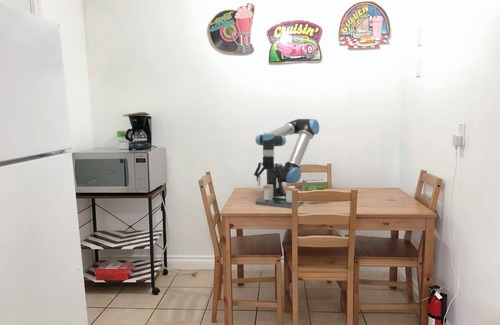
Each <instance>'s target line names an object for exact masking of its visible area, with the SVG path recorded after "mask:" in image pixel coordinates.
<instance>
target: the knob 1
mask: <svg viewBox="0 0 500 325" xmlns="http://www.w3.org/2000/svg"><path fill="white" fill-rule="evenodd" d="M262 188H263V197H264V199H265V200H266V201H271V200H272V198H273V197H274V196H273V185H272V184H268V185H267V184H265V185H263V187H262Z"/></svg>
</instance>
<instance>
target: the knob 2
mask: <svg viewBox="0 0 500 325" xmlns="http://www.w3.org/2000/svg"><path fill="white" fill-rule="evenodd" d="M294 189H295V190H296V186H294V185H289V186H286V187H285V197H286V202H288V203H292V190H294Z"/></svg>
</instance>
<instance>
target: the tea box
mask: <svg viewBox="0 0 500 325" xmlns="http://www.w3.org/2000/svg"><path fill="white" fill-rule="evenodd" d="M301 186H302V187H301V192H302V191H312V190H324V189H328V190H329V181H327V180H324V179H321V178H320V179H319V178H318V179H303V180H302V185H301ZM305 203H306V204H319V203H323V202H305Z"/></svg>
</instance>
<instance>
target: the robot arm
mask: <svg viewBox="0 0 500 325" xmlns="http://www.w3.org/2000/svg"><path fill="white" fill-rule="evenodd" d="M319 132H320V124H319V120H317V119H315V118H297V119H294V120H292V121H289V122H287V123H285V124H284V125H283V126H281V127H278V128H276V129H273V130H272V131H269V132H264V133H263V134H258V135H256V136H255V139H254V140H255V143H256V145H257V146H262V162H261V161H260V162H258V165H257V167H256V169H255V171H254V174H253V176H255V177H256V182H257V187H260V186H261V175H262V174H263V172H264V171H265V170H266V185H268V184H272V185H273V197H278V196H284V195H285V189H284V185H283V183H288V184H296V183H298V182H299V181H300V180H301V177H302V170H301V166H300V165H301V163H302V160H303V157H304V156H305V152H306V151H307V148H308V146H309V142H310V140H312V139H313V138H314V135H318V134H319ZM294 134H295V135H296V134H297V135H298V137H297V140H296V143H295V145H294V147H293V150H292V152H291V154H290V157H289V159H288V161H286V162H285V164H284V165H283V163H278V162H276V163H275V147H282V146H285V144H286V142H287V141H286V140H287V139H286V136H291V135H294Z"/></svg>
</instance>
